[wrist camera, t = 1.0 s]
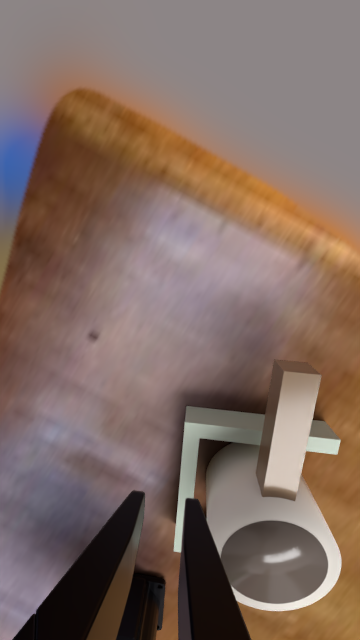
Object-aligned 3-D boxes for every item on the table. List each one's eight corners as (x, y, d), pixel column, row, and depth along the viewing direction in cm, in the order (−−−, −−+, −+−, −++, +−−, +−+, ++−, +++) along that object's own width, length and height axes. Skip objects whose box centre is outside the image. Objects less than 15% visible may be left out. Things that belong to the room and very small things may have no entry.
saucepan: (290, 520, 22) (327, 622, 15) (201, 508, 22) (202, 602, 16) (326, 348, 18) (392, 388, 12) (220, 338, 19) (230, 372, 13)
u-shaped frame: (298, 542, 22) (308, 571, 20) (176, 524, 23) (173, 551, 21) (325, 421, 19) (340, 440, 17) (186, 405, 20) (184, 422, 18)
